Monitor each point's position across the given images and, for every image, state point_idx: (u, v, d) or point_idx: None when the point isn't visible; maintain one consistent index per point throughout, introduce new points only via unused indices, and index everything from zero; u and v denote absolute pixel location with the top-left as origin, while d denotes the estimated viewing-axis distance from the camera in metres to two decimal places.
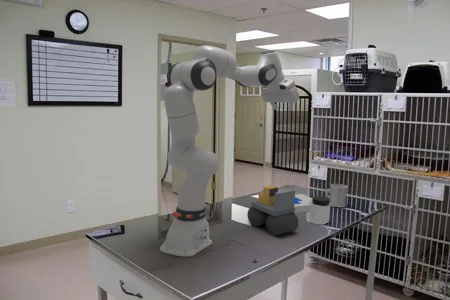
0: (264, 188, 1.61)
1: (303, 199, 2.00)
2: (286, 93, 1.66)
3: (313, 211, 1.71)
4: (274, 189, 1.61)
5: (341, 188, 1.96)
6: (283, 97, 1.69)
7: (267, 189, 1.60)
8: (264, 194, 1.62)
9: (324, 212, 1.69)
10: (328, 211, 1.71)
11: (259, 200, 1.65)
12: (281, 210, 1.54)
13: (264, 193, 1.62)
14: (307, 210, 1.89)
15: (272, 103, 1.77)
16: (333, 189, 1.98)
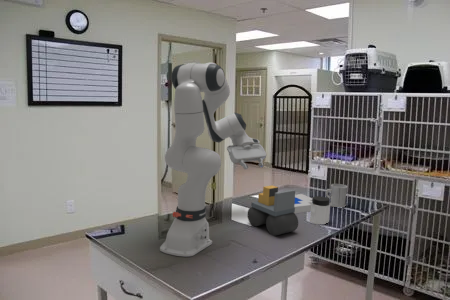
0: (264, 188, 1.61)
1: (303, 199, 2.00)
2: (256, 149, 1.78)
3: (313, 211, 1.71)
4: (274, 189, 1.61)
5: (341, 188, 1.96)
6: (255, 152, 1.75)
7: (267, 189, 1.60)
8: (264, 194, 1.62)
9: (324, 212, 1.69)
10: (328, 211, 1.71)
11: (259, 200, 1.65)
12: (281, 210, 1.54)
13: (264, 193, 1.62)
14: (307, 210, 1.89)
15: (243, 161, 1.69)
16: (333, 189, 1.98)
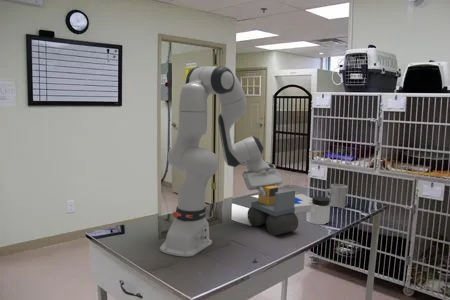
0: (264, 188, 1.61)
1: (303, 199, 2.00)
2: (272, 174, 1.69)
3: (313, 211, 1.71)
4: (274, 189, 1.61)
5: (341, 188, 1.96)
6: (271, 178, 1.66)
7: (267, 189, 1.60)
8: None
9: (324, 212, 1.69)
10: (328, 211, 1.71)
11: (259, 200, 1.65)
12: (281, 210, 1.54)
13: None
14: (307, 210, 1.89)
15: None
16: (333, 189, 1.98)
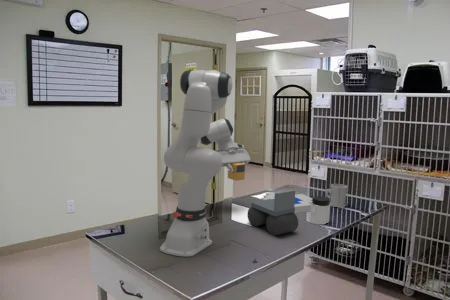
0: (232, 165, 1.80)
1: (303, 199, 2.00)
2: (241, 153, 1.87)
3: (313, 211, 1.71)
4: (241, 166, 1.79)
5: (341, 188, 1.96)
6: (239, 156, 1.85)
7: (234, 166, 1.79)
8: None
9: (324, 212, 1.69)
10: (328, 211, 1.71)
11: (228, 176, 1.83)
12: (281, 210, 1.54)
13: None
14: (307, 210, 1.89)
15: (230, 165, 1.80)
16: (333, 189, 1.98)
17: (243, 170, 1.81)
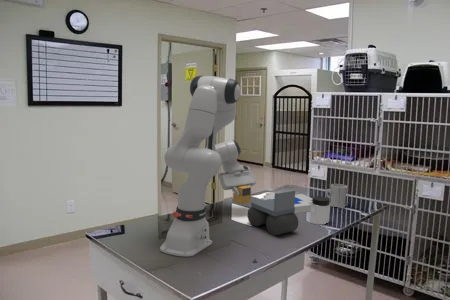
0: (238, 188, 1.77)
1: (303, 199, 2.00)
2: (247, 175, 1.84)
3: (313, 211, 1.71)
4: (247, 189, 1.76)
5: (341, 188, 1.96)
6: (245, 179, 1.82)
7: (240, 189, 1.76)
8: None
9: (324, 212, 1.69)
10: (328, 211, 1.71)
11: (234, 199, 1.80)
12: (281, 210, 1.54)
13: None
14: (307, 210, 1.89)
15: None
16: (333, 189, 1.98)
17: (249, 193, 1.78)
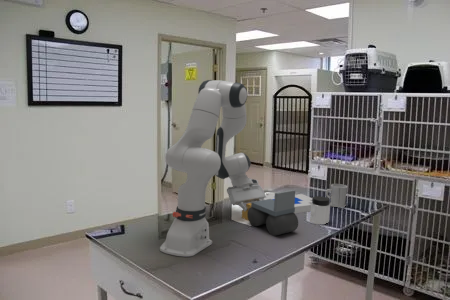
0: (247, 205, 1.72)
1: (303, 199, 2.00)
2: (255, 189, 1.79)
3: (313, 211, 1.71)
4: None
5: (341, 188, 1.96)
6: (254, 193, 1.77)
7: (250, 206, 1.71)
8: (247, 211, 1.72)
9: (324, 212, 1.69)
10: (328, 211, 1.71)
11: (242, 216, 1.75)
12: (281, 210, 1.54)
13: (247, 210, 1.72)
14: (307, 210, 1.89)
15: None
16: (333, 189, 1.98)
17: None
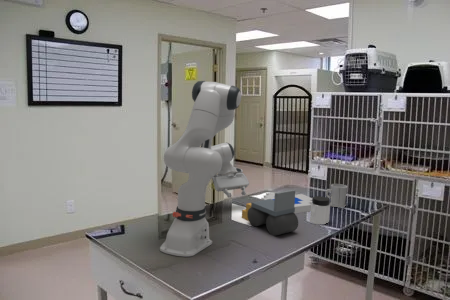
0: (247, 205, 1.72)
1: (303, 199, 2.00)
2: (240, 177, 1.89)
3: (313, 211, 1.71)
4: None
5: (341, 188, 1.96)
6: (238, 181, 1.87)
7: (249, 206, 1.71)
8: (247, 211, 1.72)
9: (324, 212, 1.69)
10: (328, 211, 1.71)
11: (242, 216, 1.75)
12: (281, 210, 1.54)
13: (247, 210, 1.72)
14: (307, 210, 1.89)
15: None
16: (333, 189, 1.98)
17: None
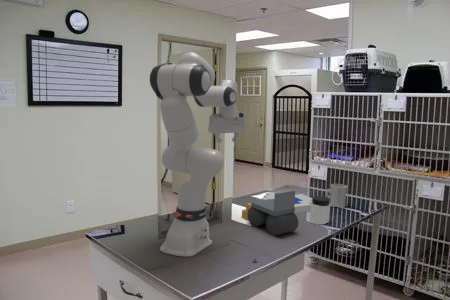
0: (247, 205, 1.72)
1: (303, 199, 2.00)
2: (238, 122, 1.74)
3: (313, 211, 1.71)
4: None
5: (341, 188, 1.96)
6: (235, 127, 1.73)
7: (250, 206, 1.71)
8: (247, 211, 1.72)
9: (324, 212, 1.69)
10: (328, 211, 1.71)
11: (242, 216, 1.75)
12: (281, 210, 1.54)
13: (247, 210, 1.72)
14: (307, 210, 1.89)
15: None
16: (333, 189, 1.98)
17: None
